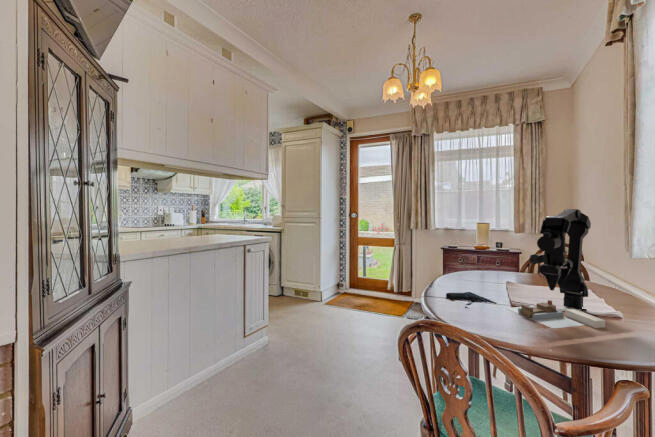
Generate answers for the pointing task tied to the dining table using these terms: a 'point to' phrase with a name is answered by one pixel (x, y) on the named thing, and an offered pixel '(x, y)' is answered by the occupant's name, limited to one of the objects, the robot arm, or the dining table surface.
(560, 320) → the jig board
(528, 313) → the brown box with tab
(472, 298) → the gun
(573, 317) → the long cream prism
